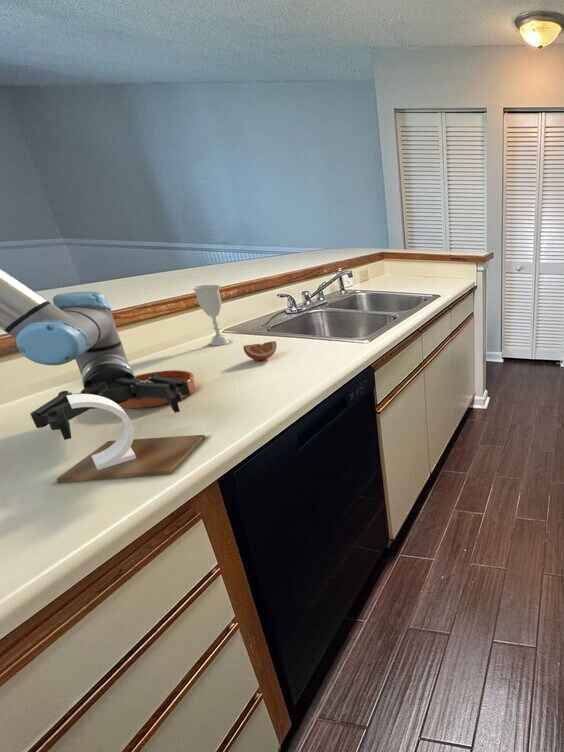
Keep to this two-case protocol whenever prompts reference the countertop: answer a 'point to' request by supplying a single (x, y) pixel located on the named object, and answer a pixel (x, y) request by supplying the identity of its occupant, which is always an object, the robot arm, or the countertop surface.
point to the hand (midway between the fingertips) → (123, 417)
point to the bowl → (159, 401)
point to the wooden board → (138, 459)
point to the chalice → (211, 308)
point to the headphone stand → (122, 445)
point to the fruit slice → (260, 350)
